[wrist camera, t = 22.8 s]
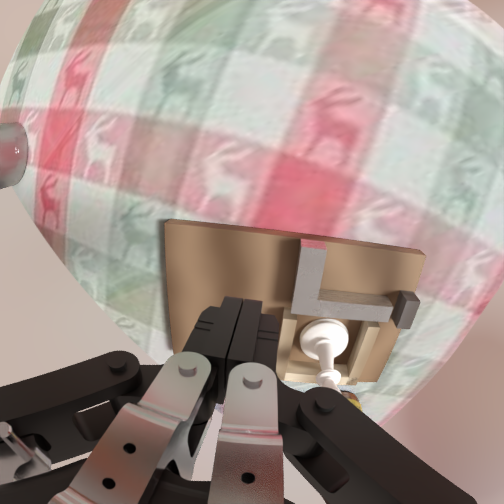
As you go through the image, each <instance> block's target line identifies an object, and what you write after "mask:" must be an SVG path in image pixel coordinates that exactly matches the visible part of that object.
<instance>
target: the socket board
mask: <svg viewBox="0 0 504 504" xmlns="http://www.w3.org/2000/svg"><path fill="white" fill-rule="evenodd" d="M164 230H165V260H166V278H167V293H168V306H169V317H170V327H171V336H172V345H173V353H174V354H177V353H180V352H182V350H183V348H184V346H185V344H186V342H187V340H188V338H189V336H190V334H191V332H192V330H193V329H194V326H195V324H196V322H197V320H198V318H199V316H200V314H201V312H202V311H204V310H205V309H207V308H208V307H209V306H214V307H220V306H221V304H222V302H223V299H224V297H225V296H230V297H237V298H243V300H244V299H252V300H259V301H263V304H262V312H261V313H262V314H270V315H275V317H276V319H277V320H278V322H279V335H278V349H277V363H276V373H277V376H278V378H279V379H280V380H285V381H294V382H305V383H317V382H316V376H317V374H318V373H319V372H321V371H322V370H321V366H320V362H319V360H316V359H313V358H310V357H309V356H307V355H306V354H305V353H304V352H303V351H302V349H301V345H300V334H301V332H302V330H303V329H304V328H305V327H306V326H307V325H308V324H309V323H311V322H313V321H315V320H318V319H324V318H329V317H319V316H309V315H300V314H292V313H291V299H292V293H293V287H294V281H295V275H296V268H297V261H298V255H299V248H300V241H301V239H307V240H315V241H323V242H325V245H326V248H327V254H326V259H325V265H324V270H323V275H322V280H321V285H320V289H323V290H332V291H341V292H351V293H360V294H370V295H381V296H387V297H388V298H389V300H390V302H391V304H392V306H393V310H392V313H391V315H390V318H389V321H388V322H376V321H363V320H350V319H339V318H329V319H335V320H338V321H340V322H341V323H343V324H344V325H345V327H346V328H347V330H348V334H349V337H348V338H349V340H348V345H347V347H346V348H345V350H344V351H343V352H342V353H341V354H340V355H338V356H336V357H334V364H333V369H334V370H337V371H338V372H339V373H340V374H341V378H340V381H339V383H338V384H336V385H356V384H357V382H377V381H378V379H379V377H380V375H381V373H382V371H383V369H384V367H385V365H386V362H387V360H388V358H389V356H390V354H391V352H392V349H393V347H394V345H395V343H396V340H397V338H398V336H399V333H400V331H401V329H410V327H411V325H412V323H413V320H414V318H415V315H416V312H417V310H418V307H419V305H420V300H419V299H418V298H417V296H416V295H415V291H416V288H417V284H418V281H419V278H420V275H421V272H422V268H423V265H424V262H425V258H426V255H425V254H424V253H423V252H422V251H420V250H417V249H410V248H404V247H397V246H390V245H384V244H377V243H370V242H363V241H356V240H349V239H341V238H334V237H326V236H319V235H311V234H303V233H295V232H287V231H279V230H270V229H262V228H253V227H244V226H235V225H226V224H217V223H207V222H197V221H187V220H177V219H170V220H169V221H167V222H165V223H164ZM243 302H244V301H243Z"/></svg>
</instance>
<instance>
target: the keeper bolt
mask: <svg viewBox="0 0 504 504" xmlns="http://www.w3.org/2000/svg"><path fill="white" fill-rule="evenodd" d="M326 254H327V248H326V245H325V242H323V241H315V240H307V239H301V241H300V248H299V255H298V261H297V268H296V275H295V281H294V287H293V293H292V299H291V313H292V314H300V315H309V316H319V317H329V318H339V319H350V320H363V321H376V322H388V321H389V318H390V315H391V313H392V310H393V306H392V304H391V302H390V300H389V298H388V297H387V296H381V295H370V294H360V293H351V292H341V291H332V290H323V289H320V285H321V280H322V275H323V270H324V265H325V259H326Z"/></svg>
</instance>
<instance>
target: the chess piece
mask: <svg viewBox="0 0 504 504" xmlns="http://www.w3.org/2000/svg"><path fill="white" fill-rule="evenodd" d="M348 337H349V334H348V330H347V328H346V327H345V325H344V324H343V323H341V322H340V321H338V320H335V319H329V318H324V319H318V320H315V321H313V322H311V323H309V324H308V325H307V326H306V327H305V328H304V329H303V330H302V332H301V334H300V345H301V349H302V351H303V352H304V353H305V354H306V355H307V356H309V357H310V358H313V359H316V360H319V362H320V366H321V370H322V371H321V372H319V373H318V374H317V376H316V382H317V384H318V385H319V386H321V387H328V388H332V389H334V390H336V391H338V392H340V393H341V391H340V390H339V389H338V387H337V385H336V384H338V383H339V381H340V378H341V374H340V373H339V372H338V371H337V370H334V369H333V364H334V357H336V356H338V355H340V354H341V353H342V352H343V351H344V350H345V348H346V347H347V345H348V340H349V338H348ZM341 394H342V393H341Z"/></svg>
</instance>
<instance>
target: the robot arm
mask: <svg viewBox="0 0 504 504" xmlns="http://www.w3.org/2000/svg"><path fill="white" fill-rule="evenodd" d="M27 153H28V145H27V137H26V133H25V130H24V128H23V126H22V125H21V124H20V123H18V122H13V123H0V189H2V188H6V187H9V186H13V185H15V184H17V183H18V182H19V181H20V180H21V178H22V176H23V174H24V171H25V167H26V162H27ZM243 301H244V302H243ZM262 304H263V301H259V300H252V299H244V300H243V298H237V297H230V296H225V297H224V299H223V302H222V304H221V306H220V307H214V306H209V307H208V308H207V309H205V310H204V311H202V312H201V314H200V316H199V318H198V320H197V322H196V324H195V326H194V329H193V330H192V332H191V334H190V336H189V338H188V340H187V342H186V344H185V346H184V348H183V350H182V352H180V353H177V354H174V355H173V356H171V357H170V358H169V359H168V360H167V361H166V363H165V364H162V365H140V364H139V361H138V359H137V357H136V356H135V355H133V354H131V353H129V352H126V351H113V352H109V353H106V354H104V355H101V356H98V357H95V358H92V359H89V360H86V361H83V362H80V363H77V364H75V365H71V366H68V367H65V368H62V369H59V370H56V371H53V372H50V373H46V374H44V375H40V376H37V377H34V378H30V379H27V380H23V381H20V382H17V383H13V384H10V385H6V386H2V387H0V504H295V503H293V502H291V501H289V500H287V499H285V498H284V473H283V452H284V454H285V456H286V458H287V459H288V460H289V461H290V462H291V463H292V464H293V466H294V467H295V468H296V469H297V470H298V471H299V472H300V473H301V474H302V475H303V477H304V478H305V479H306V480H307V481H308V482H309V483H310V484H311V485H312V486H313V487H314V488H315V489H316V490H317V491H318V492H319V493H320V494H321V495H322V496H323V497H324V498H325V499H326V500H327V501H328V502H329V503H330V504H477V502H476V501H475V499H474V498H473V497H472V496H470V495H469V494H467V493H466V492H464V491H463V490H461V489H460V488H459V487H457V486H456V485H454V484H453V483H452V482H450V481H449V480H448V479H446V478H445V477H443V476H442V475H441V474H439V473H438V472H437V471H435V470H434V469H432V468H431V467H430V466H429V465H427V464H426V463H425V462H423V461H422V460H421V459H420V458H418V457H417V456H416V455H414V454H413V453H412V452H411V451H409V450H408V449H407V448H406V447H404V446H403V445H402V444H400V443H399V442H398V441H397V440H395V439H394V438H393V437H392V436H391V435H389V434H388V433H387V432H386V431H385V430H383V429H382V428H381V427H380V426H379V425H377V424H376V423H375V422H374V421H373V420H371V419H370V418H369V417H368V416H367V415H365V414H364V413H363V412H362V411H361V410H360V409H358V408H357V407H356V406H355V405H354V404H353V403H351V402H350V401H349V400H348V399H347V398H346V397H344V396H343V395H342V394H341V393H340V392H338V391H336V390H334V389H332V388H328V387H315V388H312V389H309V390H308V391H306V392H305V393H303V392H300V391H297V390H294V389H292V388H290V387H288V386H286V385H285V384H284V383H282V382H281V381H280V379H279V378H278V376H277V373H276V363H277V349H278V335H279V322H278V320H277V319H276V317H275V315H270V314H262V313H261V312H262ZM224 399H225V405H224V412H223V418H222V425H221V429H220V430H219V434H218V440H217V446H216V453H215V459H214V465H213V472H212V479H211V481H191V478H192V474H193V469H194V464H195V461H196V458H197V455H198V453H199V451H200V448H201V445H202V443H203V440H204V438H205V436H206V433H207V430H208V428H209V425H210V423H211V420H212V414H213V411H214V408H215V404H216V403H218V404H223V403H224ZM108 400H109V402H107V403H104V404H102V405H99V406H96V407H94V408H91V409H88V410H86V411H83V412H78V411H80V410H84V409H86V408H89V407H92V406H95V405H97V404H100V403H102V402H105V401H108ZM90 451H92V453H91V454H90V455H89V457H88V458H85V459H82V460H79V461H76V462H74V463H71V464H68V465H65V466H63V467H60V468H57V469H54V470H51V464H55V463H58V462H61V461H64V460H67V459H70V458H73V457H76V456H79V455H82V454H85V453H87V452H90Z"/></svg>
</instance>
